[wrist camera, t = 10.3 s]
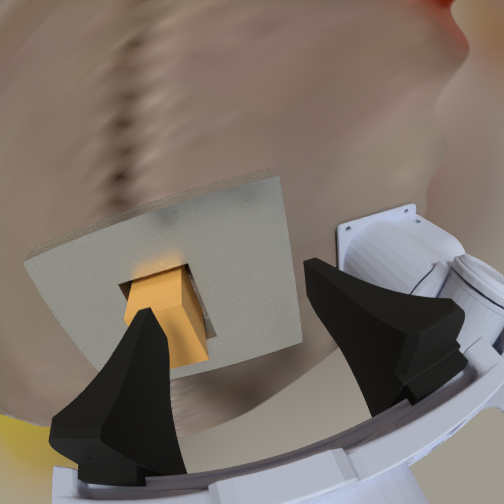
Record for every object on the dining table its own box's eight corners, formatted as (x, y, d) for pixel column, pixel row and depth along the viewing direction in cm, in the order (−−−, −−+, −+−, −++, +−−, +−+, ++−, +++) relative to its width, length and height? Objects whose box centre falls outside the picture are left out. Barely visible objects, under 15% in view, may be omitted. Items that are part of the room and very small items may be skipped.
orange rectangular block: (181, 256, 21) (181, 304, 16) (201, 308, 24) (209, 359, 18) (135, 270, 20) (123, 319, 15) (160, 319, 23) (159, 371, 18)
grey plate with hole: (267, 168, 19) (278, 175, 17) (293, 325, 27) (302, 341, 25) (35, 247, 17) (22, 262, 15) (117, 371, 25) (114, 389, 23)
